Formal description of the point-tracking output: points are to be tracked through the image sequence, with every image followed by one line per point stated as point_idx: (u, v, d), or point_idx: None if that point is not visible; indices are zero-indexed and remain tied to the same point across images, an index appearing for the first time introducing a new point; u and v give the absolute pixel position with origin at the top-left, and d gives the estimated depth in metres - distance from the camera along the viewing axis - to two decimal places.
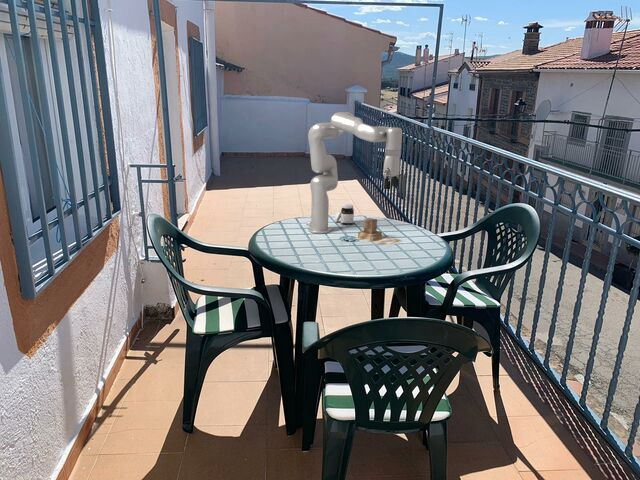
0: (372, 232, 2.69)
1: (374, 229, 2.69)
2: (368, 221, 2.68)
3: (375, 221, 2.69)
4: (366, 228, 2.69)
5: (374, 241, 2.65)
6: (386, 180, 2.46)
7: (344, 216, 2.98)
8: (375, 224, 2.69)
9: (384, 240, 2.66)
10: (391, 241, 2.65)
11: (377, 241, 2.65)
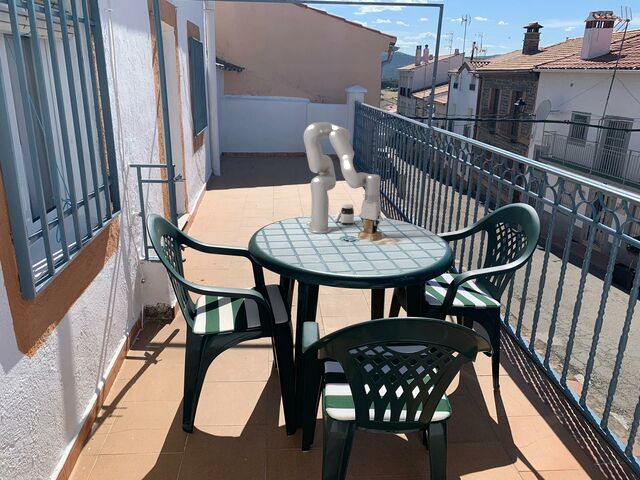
0: (372, 232, 2.69)
1: None
2: (368, 221, 2.68)
3: None
4: (366, 228, 2.69)
5: (374, 241, 2.65)
6: None
7: (344, 216, 2.98)
8: None
9: (384, 240, 2.66)
10: (391, 241, 2.65)
11: (377, 241, 2.65)
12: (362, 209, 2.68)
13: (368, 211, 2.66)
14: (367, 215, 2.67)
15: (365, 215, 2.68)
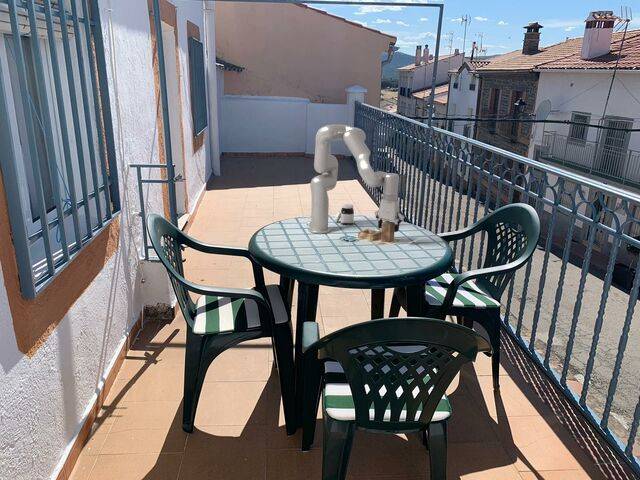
0: (390, 235, 2.62)
1: (391, 232, 2.63)
2: (386, 224, 2.61)
3: (393, 224, 2.62)
4: (383, 231, 2.63)
5: (374, 241, 2.65)
6: (399, 223, 2.59)
7: (344, 216, 2.98)
8: (393, 227, 2.63)
9: None
10: None
11: (377, 241, 2.65)
12: (380, 209, 2.61)
13: (386, 211, 2.59)
14: (385, 215, 2.60)
15: (383, 215, 2.61)
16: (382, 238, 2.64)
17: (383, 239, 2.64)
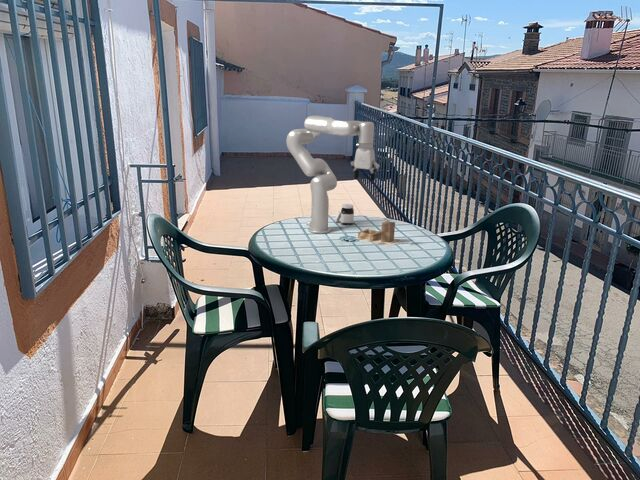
0: (390, 235, 2.62)
1: (391, 232, 2.63)
2: (386, 224, 2.61)
3: (393, 224, 2.62)
4: (383, 231, 2.63)
5: (374, 241, 2.65)
6: (374, 172, 2.58)
7: (344, 216, 2.98)
8: (393, 227, 2.63)
9: None
10: None
11: (377, 241, 2.65)
12: (356, 158, 2.61)
13: (361, 160, 2.58)
14: (360, 164, 2.59)
15: (359, 164, 2.60)
16: (382, 238, 2.64)
17: (383, 239, 2.64)
